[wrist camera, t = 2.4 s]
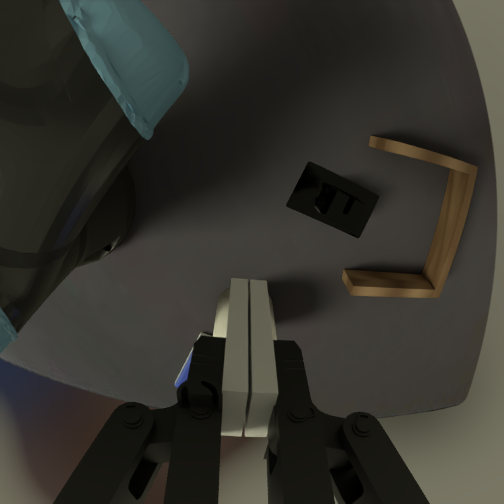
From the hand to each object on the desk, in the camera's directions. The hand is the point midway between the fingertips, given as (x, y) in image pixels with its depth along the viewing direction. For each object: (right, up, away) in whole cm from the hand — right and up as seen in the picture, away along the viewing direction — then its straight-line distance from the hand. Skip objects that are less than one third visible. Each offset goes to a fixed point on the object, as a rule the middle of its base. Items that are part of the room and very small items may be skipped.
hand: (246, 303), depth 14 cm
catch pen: (+18, +7, +19) cm, 27 cm away
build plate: (+9, +8, +18) cm, 22 cm away
